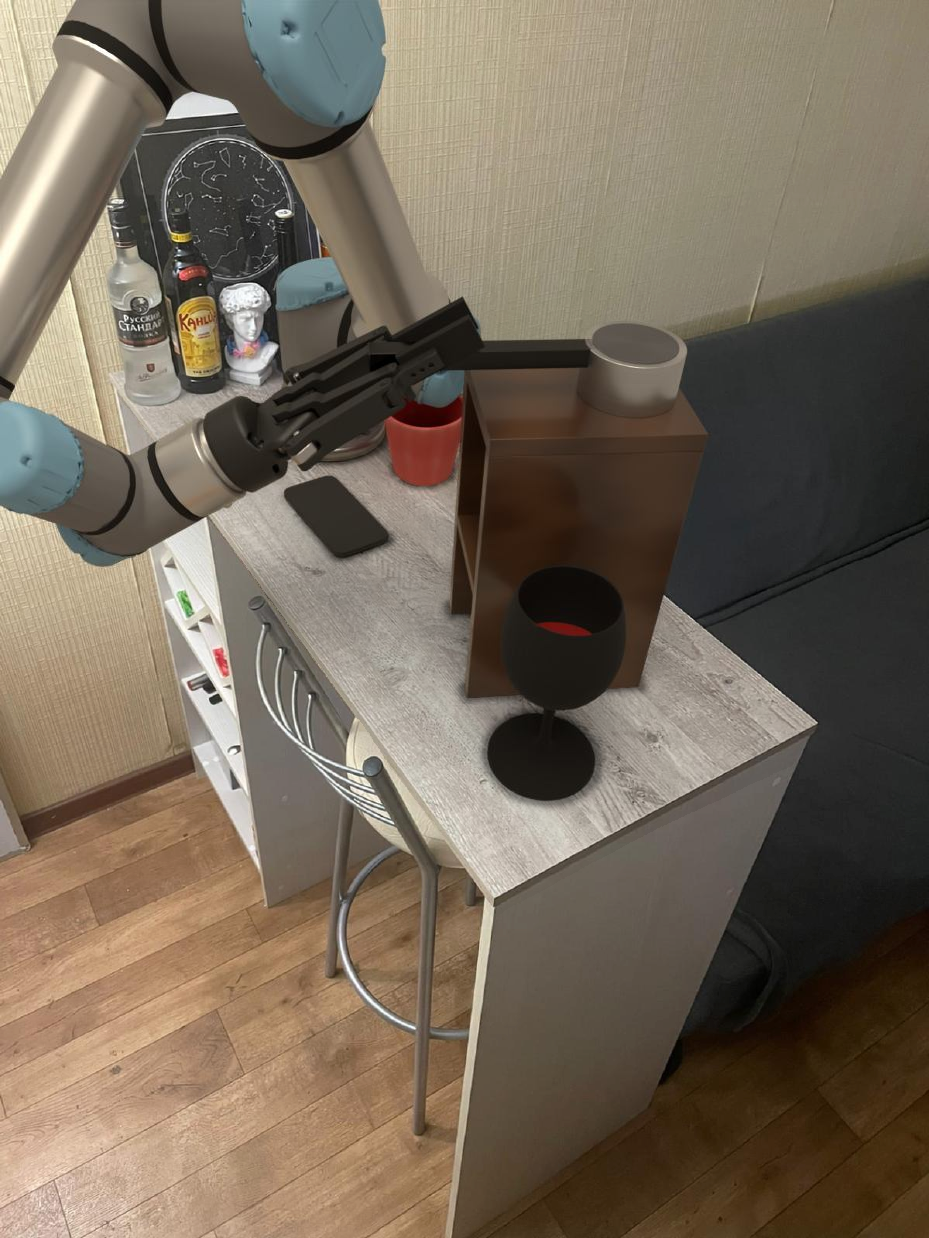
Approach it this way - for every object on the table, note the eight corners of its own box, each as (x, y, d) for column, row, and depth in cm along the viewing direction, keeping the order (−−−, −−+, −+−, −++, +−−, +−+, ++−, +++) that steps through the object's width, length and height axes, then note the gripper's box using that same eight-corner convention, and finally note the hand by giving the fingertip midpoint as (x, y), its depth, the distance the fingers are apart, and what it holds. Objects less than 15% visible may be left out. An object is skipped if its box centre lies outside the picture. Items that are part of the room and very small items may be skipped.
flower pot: (479, 478, 121) (485, 413, 114) (410, 502, 116) (411, 436, 109) (435, 440, 127) (438, 377, 120) (367, 462, 122) (366, 397, 115)
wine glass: (589, 811, 82) (630, 655, 69) (477, 788, 83) (495, 630, 70) (600, 726, 90) (638, 570, 76) (497, 706, 91) (516, 549, 77)
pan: (373, 426, 72) (372, 373, 69) (365, 374, 78) (364, 323, 75) (689, 416, 76) (702, 366, 73) (657, 367, 82) (668, 319, 79)
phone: (337, 555, 106) (280, 489, 114) (337, 560, 106) (280, 494, 115) (392, 535, 109) (332, 473, 118) (392, 541, 109) (332, 478, 118)
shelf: (466, 698, 92) (490, 439, 71) (449, 605, 102) (465, 356, 81) (638, 687, 94) (708, 434, 74) (604, 597, 104) (658, 354, 84)
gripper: (255, 438, 85) (479, 317, 80) (250, 541, 74) (510, 408, 69) (204, 375, 80) (440, 242, 75) (191, 475, 69) (466, 326, 64)
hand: (473, 321), depth 72 cm, fingers open, 3 cm apart
